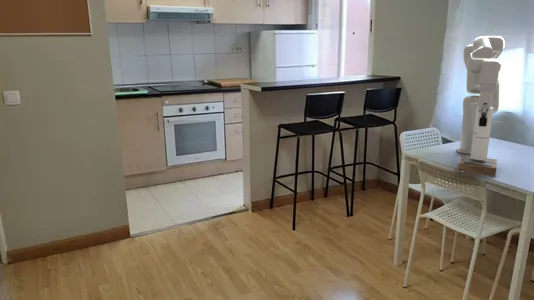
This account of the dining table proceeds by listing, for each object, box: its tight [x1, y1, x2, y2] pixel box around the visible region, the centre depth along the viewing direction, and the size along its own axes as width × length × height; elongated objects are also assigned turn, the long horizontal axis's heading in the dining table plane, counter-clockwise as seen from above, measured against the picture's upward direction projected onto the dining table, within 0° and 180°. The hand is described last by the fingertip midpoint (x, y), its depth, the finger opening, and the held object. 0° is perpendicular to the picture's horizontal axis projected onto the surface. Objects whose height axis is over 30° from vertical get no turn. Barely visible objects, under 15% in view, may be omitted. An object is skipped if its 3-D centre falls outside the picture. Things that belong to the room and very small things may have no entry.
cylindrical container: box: [470, 106, 494, 160], centre depth 200 cm, size 7×7×25 cm
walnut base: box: [457, 155, 498, 177], centre depth 204 cm, size 16×16×4 cm
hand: (482, 124), depth 199 cm, fingers closed on cylindrical container, 7 cm apart
